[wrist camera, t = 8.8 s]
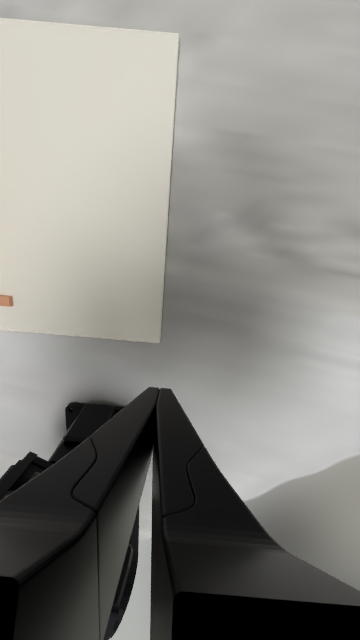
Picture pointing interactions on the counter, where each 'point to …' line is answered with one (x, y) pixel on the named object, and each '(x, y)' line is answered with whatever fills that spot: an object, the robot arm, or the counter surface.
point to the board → (85, 178)
